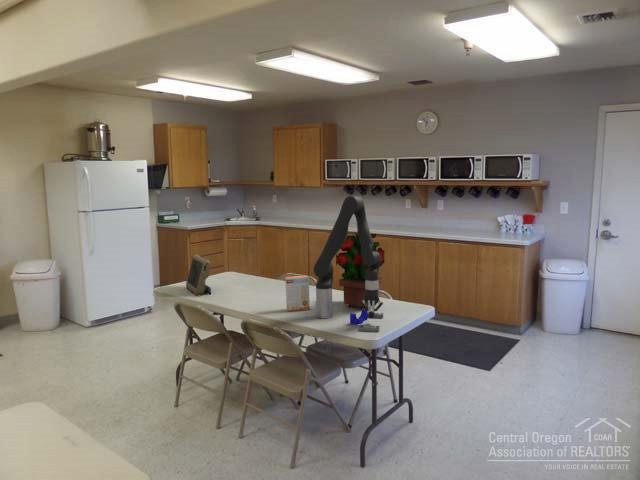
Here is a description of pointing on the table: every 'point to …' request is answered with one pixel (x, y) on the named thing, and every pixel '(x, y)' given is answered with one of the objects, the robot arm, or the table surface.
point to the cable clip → (362, 317)
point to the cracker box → (297, 293)
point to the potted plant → (355, 270)
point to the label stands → (372, 328)
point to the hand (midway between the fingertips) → (371, 318)
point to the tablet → (198, 275)
